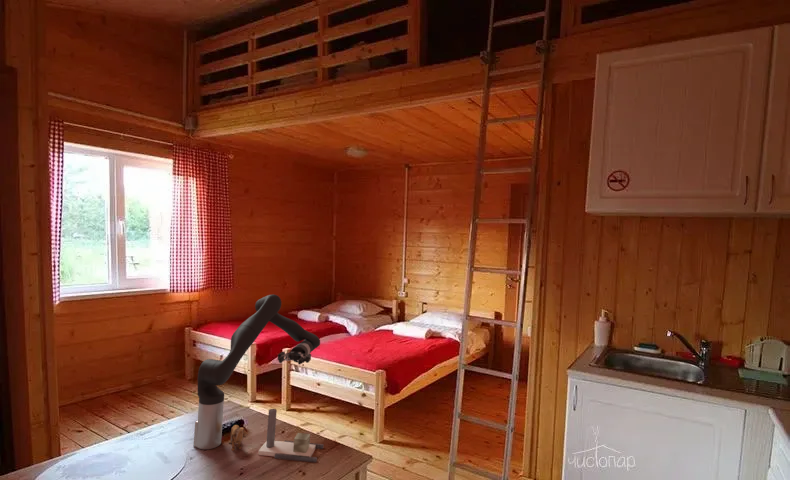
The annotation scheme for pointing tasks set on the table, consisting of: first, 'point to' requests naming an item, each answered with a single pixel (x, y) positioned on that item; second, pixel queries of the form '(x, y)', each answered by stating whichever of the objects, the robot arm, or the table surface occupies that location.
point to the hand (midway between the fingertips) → (289, 361)
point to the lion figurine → (237, 436)
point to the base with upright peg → (278, 446)
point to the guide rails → (299, 458)
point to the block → (301, 442)
